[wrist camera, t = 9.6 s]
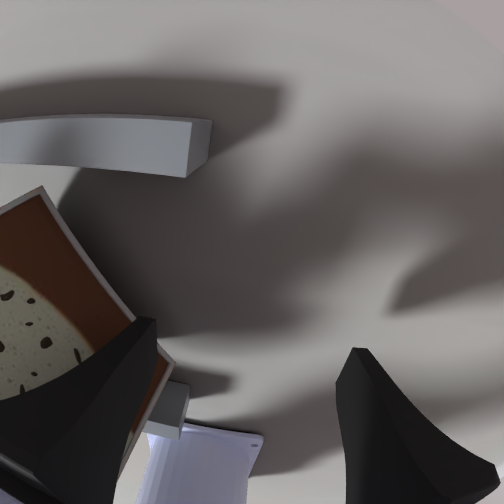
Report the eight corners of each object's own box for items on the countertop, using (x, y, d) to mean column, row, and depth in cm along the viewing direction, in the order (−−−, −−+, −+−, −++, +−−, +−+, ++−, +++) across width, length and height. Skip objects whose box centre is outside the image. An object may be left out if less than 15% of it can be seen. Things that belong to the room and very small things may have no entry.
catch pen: (189, 400, 16) (179, 440, 14) (-10, 331, 16) (-31, 354, 14) (212, 120, 10) (192, 122, 7) (-49, 127, 10) (-84, 138, 7)
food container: (0, 208, 12) (-119, 324, 5) (25, 154, 9) (-159, 320, 1) (128, 373, 17) (46, 494, 9) (195, 382, 13) (94, 551, 6)
